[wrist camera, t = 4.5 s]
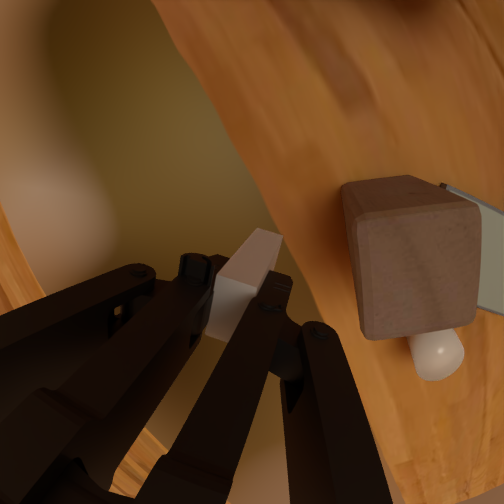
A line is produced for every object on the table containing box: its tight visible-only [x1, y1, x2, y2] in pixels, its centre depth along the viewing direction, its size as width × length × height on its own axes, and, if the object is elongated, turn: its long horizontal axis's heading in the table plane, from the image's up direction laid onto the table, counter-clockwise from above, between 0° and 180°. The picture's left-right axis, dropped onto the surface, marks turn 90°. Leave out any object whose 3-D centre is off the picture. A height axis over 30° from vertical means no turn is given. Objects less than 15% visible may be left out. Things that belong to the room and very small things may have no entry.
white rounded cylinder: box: [406, 328, 464, 381], centre depth 36 cm, size 7×7×9 cm
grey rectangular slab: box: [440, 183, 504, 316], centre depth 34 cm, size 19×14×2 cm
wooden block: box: [341, 175, 482, 341], centre depth 28 cm, size 10×10×20 cm
